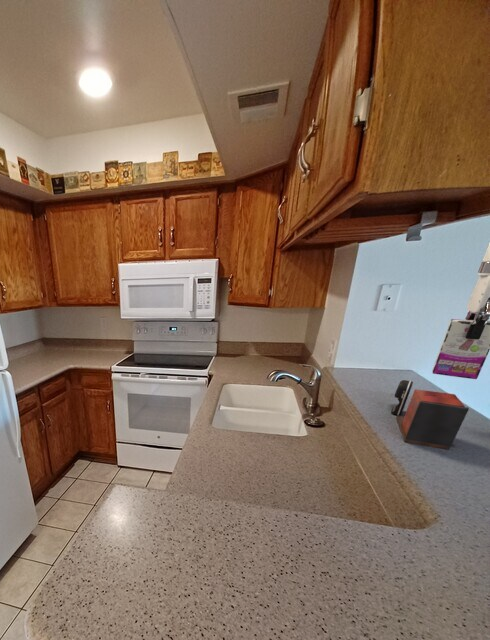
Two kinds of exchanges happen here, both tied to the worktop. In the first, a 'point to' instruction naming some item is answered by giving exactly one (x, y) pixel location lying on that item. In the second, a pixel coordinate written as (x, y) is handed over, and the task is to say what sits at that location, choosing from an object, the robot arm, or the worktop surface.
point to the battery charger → (402, 396)
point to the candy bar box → (462, 351)
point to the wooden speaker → (432, 419)
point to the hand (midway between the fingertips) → (469, 336)
